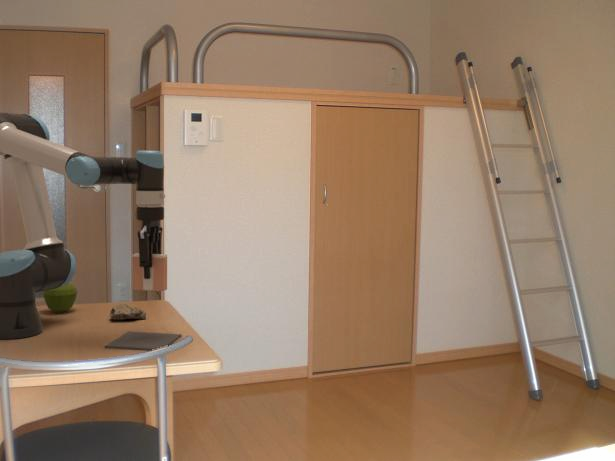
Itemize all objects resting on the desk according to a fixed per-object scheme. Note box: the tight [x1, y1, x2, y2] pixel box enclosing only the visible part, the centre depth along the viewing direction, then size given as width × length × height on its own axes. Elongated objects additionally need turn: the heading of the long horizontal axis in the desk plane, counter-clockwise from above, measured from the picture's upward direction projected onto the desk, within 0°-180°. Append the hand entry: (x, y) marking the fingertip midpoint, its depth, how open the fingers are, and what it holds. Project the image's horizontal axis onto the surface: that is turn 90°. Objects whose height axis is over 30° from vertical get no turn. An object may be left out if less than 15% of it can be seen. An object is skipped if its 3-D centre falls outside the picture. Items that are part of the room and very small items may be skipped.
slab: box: [132, 252, 168, 292], centre depth 196 cm, size 9×3×10 cm, turn 82°
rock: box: [108, 303, 147, 322], centre depth 221 cm, size 11×11×4 cm
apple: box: [42, 283, 78, 314], centre depth 229 cm, size 11×10×10 cm
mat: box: [104, 331, 182, 351], centre depth 193 cm, size 16×16×1 cm
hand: (150, 288), depth 197 cm, fingers closed on slab, 3 cm apart
